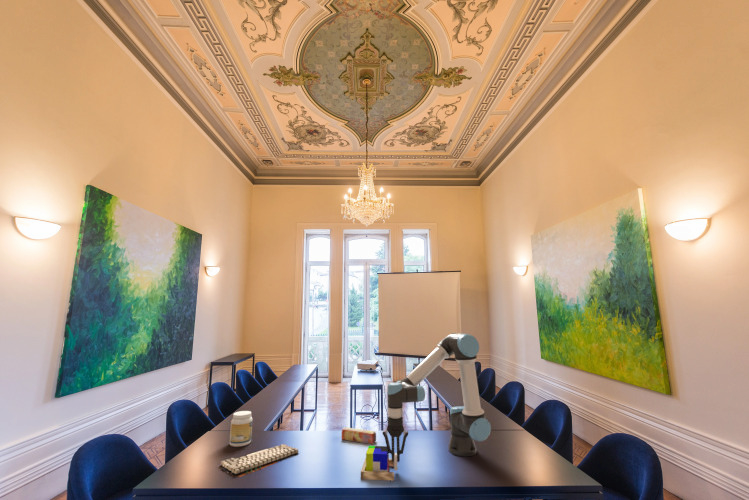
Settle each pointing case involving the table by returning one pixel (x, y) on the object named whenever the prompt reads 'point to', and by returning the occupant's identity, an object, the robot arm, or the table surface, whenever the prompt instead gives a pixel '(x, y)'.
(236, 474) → the mechanical keyboard
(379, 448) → the puzzle toy
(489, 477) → the table surface
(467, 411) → the robot arm
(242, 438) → the supplement tub
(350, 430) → the snack package
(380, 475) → the wooden open frame
